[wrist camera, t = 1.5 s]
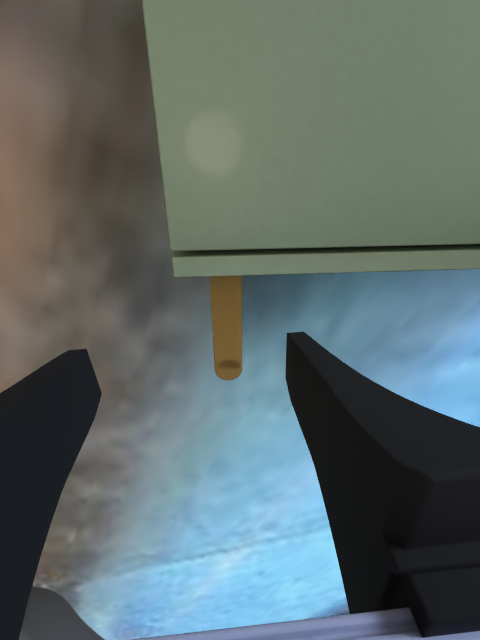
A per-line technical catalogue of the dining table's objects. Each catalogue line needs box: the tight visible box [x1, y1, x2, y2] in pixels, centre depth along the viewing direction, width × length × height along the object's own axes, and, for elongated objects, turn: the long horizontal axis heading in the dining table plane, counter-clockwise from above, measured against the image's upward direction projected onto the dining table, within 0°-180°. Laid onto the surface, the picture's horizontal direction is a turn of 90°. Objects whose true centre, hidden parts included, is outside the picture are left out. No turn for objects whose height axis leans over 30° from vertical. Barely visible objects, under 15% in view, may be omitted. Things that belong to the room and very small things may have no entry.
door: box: [172, 244, 480, 380], centre depth 17 cm, size 7×16×8 cm, turn 91°
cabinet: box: [142, 0, 480, 251], centre depth 13 cm, size 10×16×9 cm, turn 90°
